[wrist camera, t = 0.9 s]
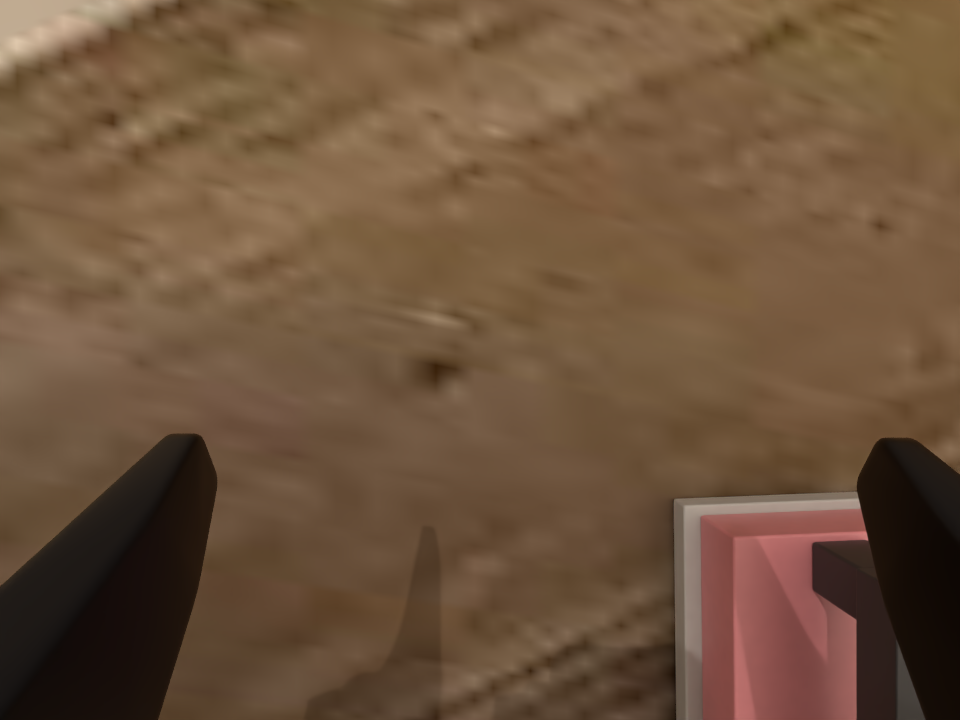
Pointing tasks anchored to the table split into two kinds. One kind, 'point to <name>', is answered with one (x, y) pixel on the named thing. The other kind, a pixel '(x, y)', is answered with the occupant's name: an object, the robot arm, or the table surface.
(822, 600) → the iron
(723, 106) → the table surface
